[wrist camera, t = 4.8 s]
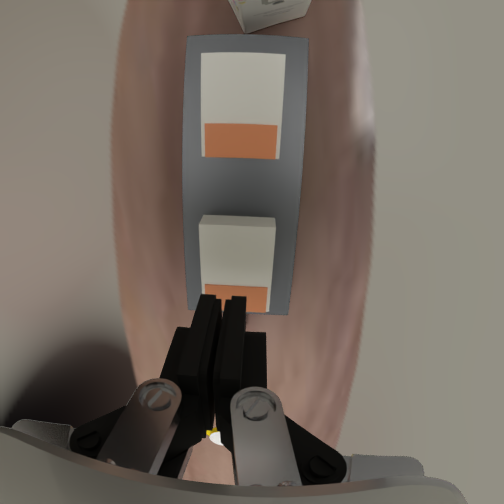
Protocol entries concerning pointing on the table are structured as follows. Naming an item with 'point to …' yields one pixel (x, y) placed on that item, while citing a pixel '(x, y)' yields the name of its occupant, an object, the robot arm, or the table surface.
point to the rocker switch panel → (245, 164)
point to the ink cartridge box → (267, 12)
